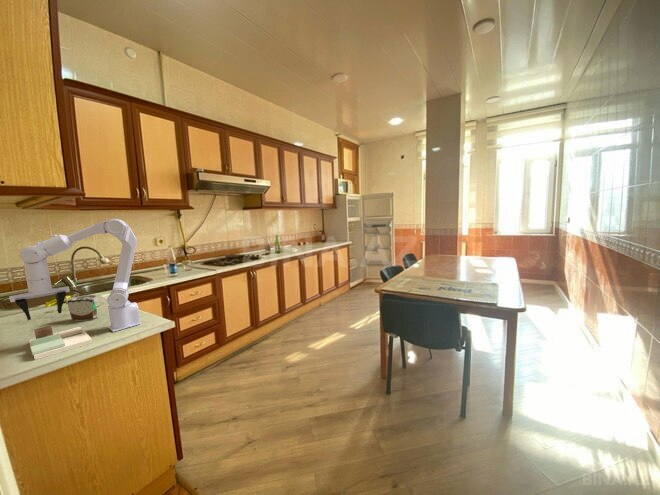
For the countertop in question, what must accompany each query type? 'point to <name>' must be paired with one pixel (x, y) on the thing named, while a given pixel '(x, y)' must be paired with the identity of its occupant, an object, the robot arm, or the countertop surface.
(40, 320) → the countertop surface
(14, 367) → the countertop surface
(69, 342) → the puzzle board
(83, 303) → the food container
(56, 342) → the lid
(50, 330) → the walnut block
